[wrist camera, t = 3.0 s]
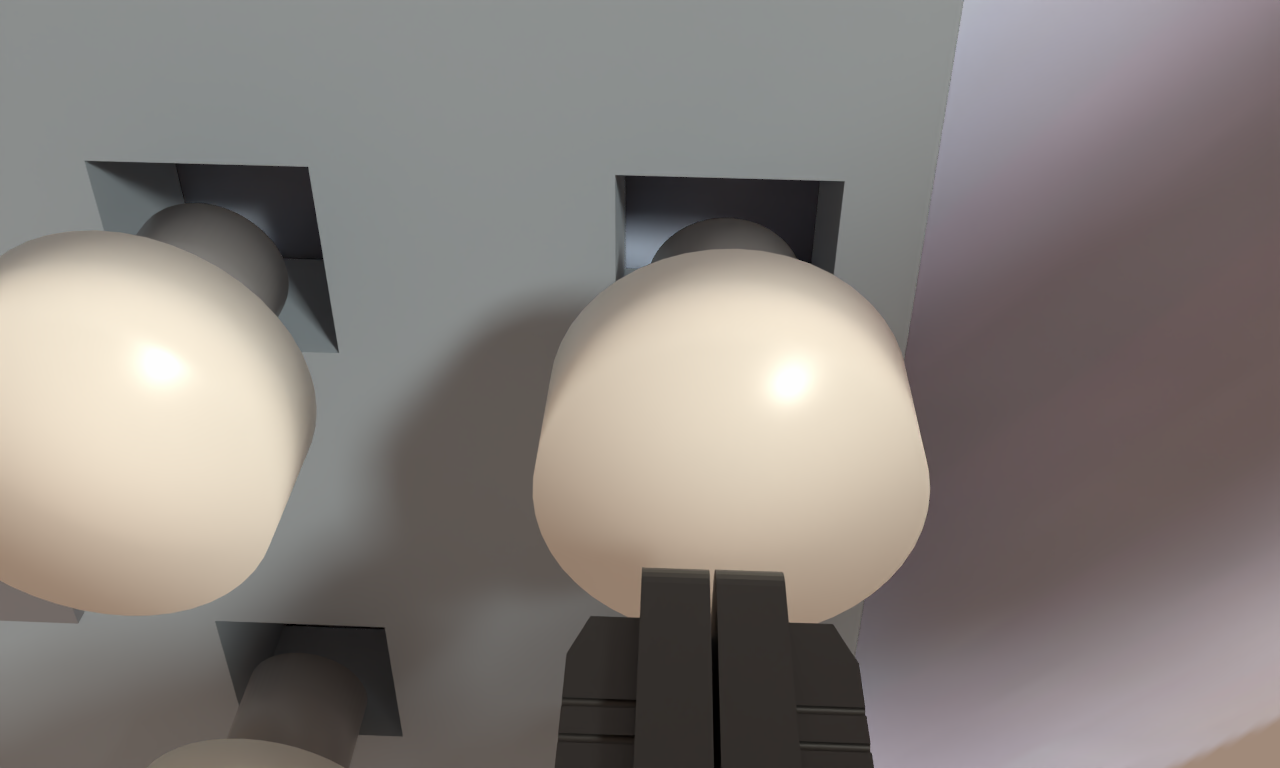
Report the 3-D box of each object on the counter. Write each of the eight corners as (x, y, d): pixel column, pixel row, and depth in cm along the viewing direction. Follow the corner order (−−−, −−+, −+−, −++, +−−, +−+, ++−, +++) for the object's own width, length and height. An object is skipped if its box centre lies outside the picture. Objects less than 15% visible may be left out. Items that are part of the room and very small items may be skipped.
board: (946, -176, 18) (988, -117, 15) (810, 762, 31) (820, 882, 28) (-513, -203, 19) (-717, -151, 16) (-46, 727, 32) (-115, 841, 29)
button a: (901, 147, 17) (960, 346, 13) (862, 414, 20) (901, 645, 16) (564, 139, 18) (523, 333, 14) (573, 405, 20) (540, 632, 16)
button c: (342, 133, 18) (236, 324, 14) (382, 398, 21) (302, 622, 16) (15, 124, 18) (-186, 311, 14) (99, 389, 21) (-48, 609, 17)
